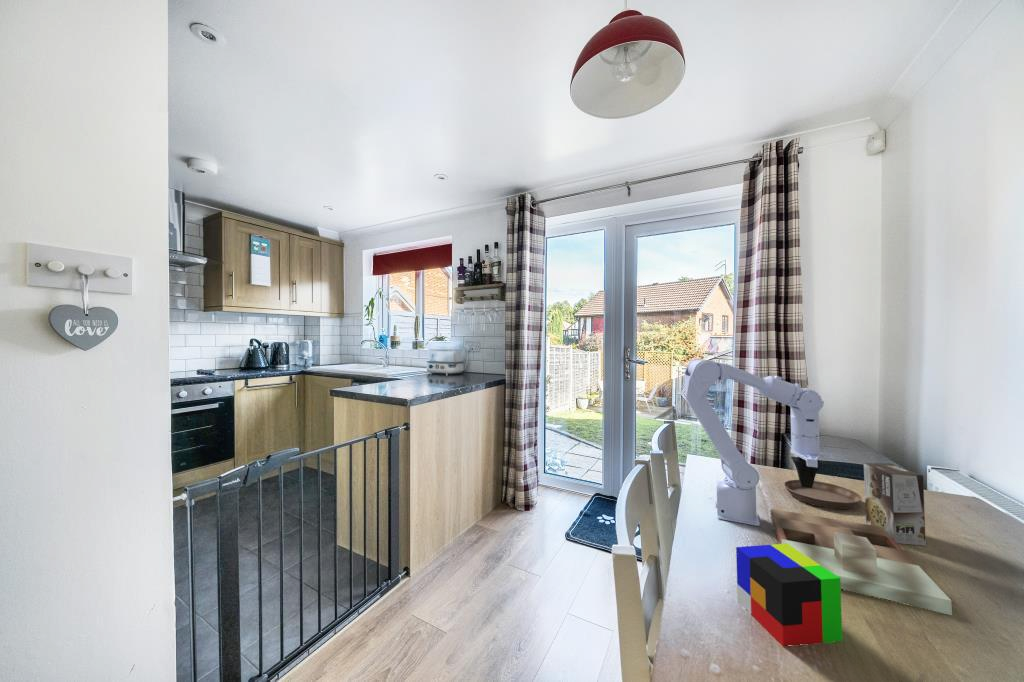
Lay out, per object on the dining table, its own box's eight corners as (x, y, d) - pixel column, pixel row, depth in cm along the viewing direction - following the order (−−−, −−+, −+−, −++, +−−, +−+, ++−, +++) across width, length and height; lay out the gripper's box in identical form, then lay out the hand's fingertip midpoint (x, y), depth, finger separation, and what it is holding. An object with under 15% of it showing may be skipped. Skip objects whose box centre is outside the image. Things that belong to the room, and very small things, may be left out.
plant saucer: (783, 484, 120) (783, 474, 120) (855, 496, 110) (855, 486, 110) (785, 503, 106) (784, 493, 106) (868, 519, 96) (868, 507, 96)
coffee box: (927, 546, 82) (925, 475, 83) (894, 543, 84) (892, 474, 84) (894, 526, 91) (892, 462, 91) (864, 524, 93) (862, 461, 93)
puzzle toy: (737, 602, 66) (736, 547, 66) (788, 597, 67) (786, 543, 67) (783, 647, 56) (781, 582, 56) (842, 641, 57) (840, 578, 57)
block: (842, 569, 71) (841, 543, 71) (834, 555, 75) (833, 531, 75) (877, 576, 68) (876, 549, 68) (866, 562, 73) (866, 537, 73)
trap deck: (791, 577, 72) (791, 565, 72) (770, 518, 97) (770, 508, 97) (951, 615, 62) (951, 600, 62) (882, 537, 86) (882, 527, 86)
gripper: (833, 443, 86) (834, 500, 86) (817, 430, 99) (818, 479, 98) (796, 439, 89) (797, 494, 89) (785, 427, 102) (786, 475, 102)
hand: (806, 486), depth 94 cm, fingers closed
